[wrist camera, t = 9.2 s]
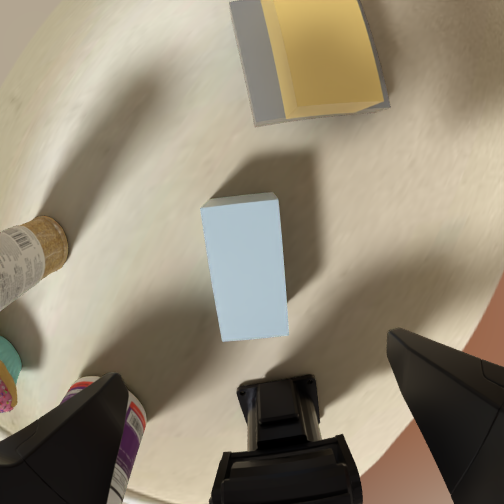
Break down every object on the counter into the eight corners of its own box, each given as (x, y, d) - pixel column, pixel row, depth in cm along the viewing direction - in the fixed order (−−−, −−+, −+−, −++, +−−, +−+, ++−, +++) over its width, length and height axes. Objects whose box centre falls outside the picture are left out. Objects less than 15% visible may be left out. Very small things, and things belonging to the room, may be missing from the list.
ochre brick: (355, 112, 15) (384, 101, 11) (286, 119, 15) (297, 106, 12) (325, -5, 13) (342, -37, 9) (260, -2, 13) (262, -37, 9)
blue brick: (282, 305, 22) (288, 335, 18) (226, 310, 22) (222, 341, 18) (272, 191, 19) (278, 199, 15) (210, 198, 19) (200, 208, 16)
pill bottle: (64, 391, 24) (2, 492, 11) (96, 356, 23) (18, 483, 9) (124, 437, 26) (87, 544, 12) (166, 411, 25) (130, 546, 11)
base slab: (371, 113, 18) (390, 107, 15) (254, 128, 18) (255, 122, 15) (344, 12, 16) (357, -6, 13) (231, 21, 16) (229, 2, 13)
